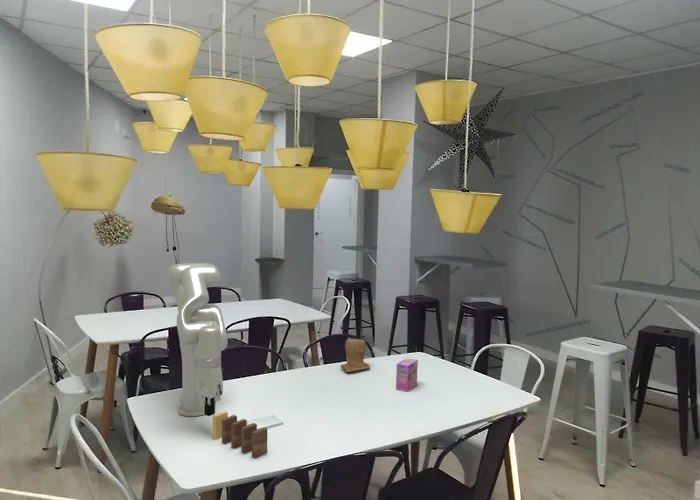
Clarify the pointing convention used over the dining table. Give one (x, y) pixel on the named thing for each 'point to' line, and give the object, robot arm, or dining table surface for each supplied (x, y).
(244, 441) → the walnut domino
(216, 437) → the ochre domino
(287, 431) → the dining table surface
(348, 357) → the brown statuette
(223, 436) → the walnut domino
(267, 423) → the hard drive
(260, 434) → the walnut domino
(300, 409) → the dining table surface
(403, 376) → the box
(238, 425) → the walnut domino
